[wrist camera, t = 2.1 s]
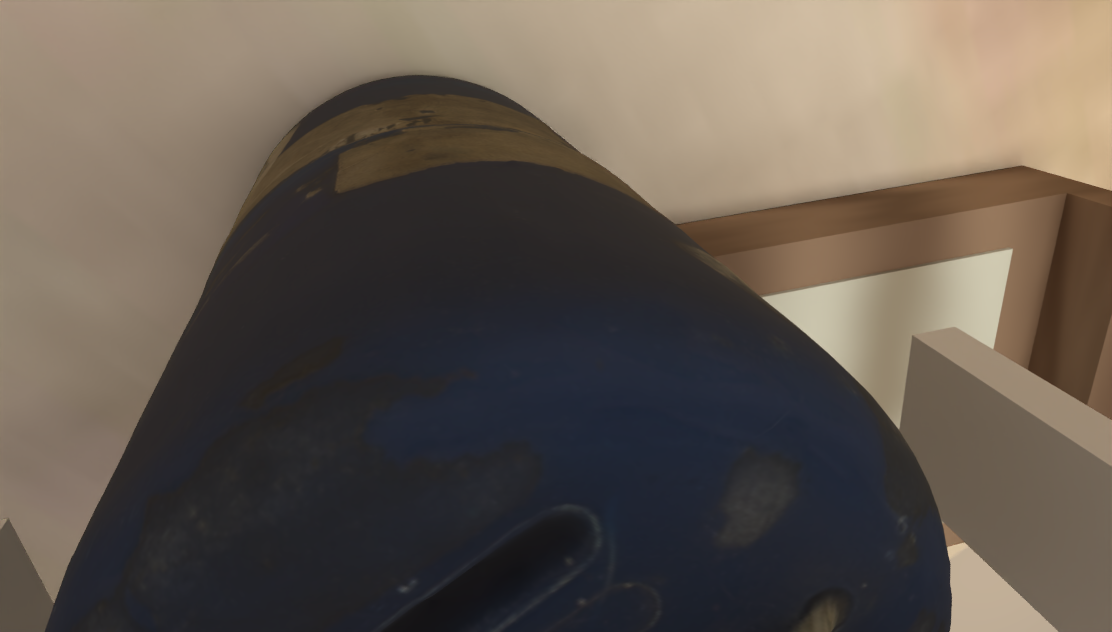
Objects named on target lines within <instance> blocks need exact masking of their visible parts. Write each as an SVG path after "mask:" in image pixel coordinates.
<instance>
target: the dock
mask: <svg viewBox="0 0 1112 632" xmlns="http://www.w3.org/2000/svg"><path fill="white" fill-rule="evenodd" d="M676 226H678V227H679V228H680V229H681V230H683V231H684V232H685V233H686V234H687V235H688V236H689V237H690V238H691V239H693V240H694V241H695V242H696V243H697V244H698V245H699V246H701V247H702V248H703V249H704V250H705V251H707V252H708V253H709V254H710V255H711V256H713V257H714V258H715V259H717V260H718V261H719V262H721V263H722V264H724V265H725V266H726V267H728V268H729V269H730V270H731V271H732V272H734V273H735V274H736V275H737V276H738V277H739V278H741V279H742V280H743V281H744V282H745V283H746V284H747V285H748V286H749V287H751V288H752V289H753V290H754V291H755V292H756V293H757V294H758V295H759V296H760V297H761V298H763V299H764V300H765V301H766V302H768V303H769V304H770V305H771V306H773V307H774V308H775V309H776V310H778V311H779V312H780V313H782V314H783V315H784V316H785V317H786V318H788V319H789V320H790V321H791V322H793V323H794V324H795V325H796V326H797V327H799V328H800V329H801V330H802V331H803V332H805V333H806V334H807V335H808V336H809V337H810V338H811V339H813V340H814V341H815V342H816V343H817V344H818V345H820V346H821V347H822V348H823V349H824V350H825V351H826V352H828V353H829V354H830V355H831V356H832V357H833V358H834V359H835V360H836V361H837V362H838V363H839V364H840V365H841V366H842V367H843V368H844V369H845V370H846V371H848V372H849V373H850V374H851V375H852V376H853V377H854V378H855V379H856V380H857V381H858V382H859V383H860V384H861V385H862V386H863V387H864V388H865V389H866V390H867V391H868V392H869V393H870V394H871V395H872V396H873V398H874V399H875V400H876V401H877V403H878V404H879V405H880V406H881V408H882V409H883V410H884V411H885V413H886V414H887V415H888V417H889V418H890V419H891V420H892V422H893V423H894V424H895V425H896V427H897V428H898V429H899V428H900V421H901V413H902V406H903V399H904V392H905V385H906V377H907V370H908V363H909V356H910V348H911V341H912V335H915V334H920V333H925V332H930V331H935V330H940V329H945V328H950V327H956V328H958V329H960V330H961V331H963V332H965V333H966V334H968V335H970V336H972V337H973V338H975V339H977V340H978V341H980V342H982V343H983V344H985V345H987V346H988V347H990V348H992V349H993V350H995V351H997V352H998V353H1000V354H1002V355H1003V356H1005V357H1007V358H1008V359H1010V360H1012V361H1013V362H1015V363H1017V364H1018V365H1020V366H1022V367H1023V368H1025V369H1027V370H1028V371H1030V372H1032V373H1033V374H1035V375H1037V376H1038V377H1040V378H1042V379H1043V380H1045V381H1047V382H1049V383H1050V384H1052V385H1054V386H1055V387H1057V388H1059V389H1060V390H1062V391H1064V392H1065V393H1067V394H1069V395H1070V396H1072V397H1074V398H1075V399H1077V400H1079V401H1080V402H1082V403H1084V404H1085V405H1087V406H1089V407H1090V408H1092V409H1094V410H1095V411H1097V412H1099V413H1100V414H1102V415H1104V416H1105V417H1107V418H1109V419H1110V420H1112V191H1110V190H1106V189H1103V188H1099V187H1096V186H1092V185H1089V184H1085V183H1082V182H1078V181H1075V180H1071V179H1068V178H1064V177H1061V176H1057V175H1054V174H1050V173H1047V172H1043V171H1040V170H1036V169H1033V168H1029V167H1026V166H1019V167H1013V168H1007V169H1001V170H995V171H990V172H984V173H978V174H972V175H966V176H960V177H954V178H949V179H943V180H937V181H931V182H925V183H919V184H913V185H907V186H902V187H896V188H890V189H884V190H878V191H872V192H866V193H861V194H855V195H849V196H843V197H837V198H831V199H825V200H819V201H814V202H808V203H802V204H796V205H790V206H784V207H778V208H772V209H767V210H761V211H755V212H749V213H743V214H737V215H731V216H726V217H720V218H714V219H708V220H702V221H696V222H690V223H684V224H679V225H676ZM941 521H942V520H941ZM942 525H943V528H944V534H945V540H946V545H947V547H948V546H952V545H956V544H959V543H963V542H964V541H963V540H962V539H961V538H960V537H959V536H957V535H956V534H955V533H954V532H953V531H952V530H951V529H950V528H949V527H948V526H947V525H946V524H945V523H944V522H943V521H942Z"/></svg>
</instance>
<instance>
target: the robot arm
mask: <svg viewBox="0 0 1112 632" xmlns="http://www.w3.org/2000/svg"><path fill="white" fill-rule="evenodd" d="M899 431H900V432H901V434H902V435H903V437H904V439H905V440H906V442H907V444H908V445H909V447H910V448H911V450H912V452H913V453H914V455H915V457H916V459H917V461H918V463H919V465H920V467H921V469H922V471H923V473H924V475H925V477H926V479H927V481H928V483H929V485H930V488H931V491H932V494H933V496H934V499H935V502H936V504H937V507H938V510H939V514H940V517H941V520H942V521H943V522H944V523H945V524H946V525H947V526H948V527H949V528H950V529H951V530H952V531H953V532H954V533H955V534H956V535H957V536H959V537H960V538H961V539H962V540H963V541H964V542H965V543H966V544H967V545H968V546H969V547H970V548H971V549H972V550H973V551H974V552H975V553H977V554H978V555H979V556H980V557H981V558H982V559H983V560H984V561H985V562H986V563H987V564H988V565H989V566H990V567H991V568H992V569H993V570H995V572H996V573H998V574H999V575H1000V576H1001V577H1002V578H1003V579H1004V580H1005V581H1006V582H1007V583H1008V584H1009V585H1010V586H1011V587H1012V588H1013V589H1015V590H1016V591H1017V592H1018V593H1019V594H1020V595H1021V596H1022V597H1023V598H1024V599H1025V600H1026V601H1027V602H1028V603H1029V604H1030V605H1031V606H1032V607H1033V608H1034V609H1036V610H1037V611H1038V612H1039V613H1040V614H1041V615H1042V616H1043V617H1044V618H1045V619H1046V620H1047V621H1048V622H1049V623H1050V624H1051V625H1052V626H1053V627H1055V628H1056V629H1057V630H1058V631H1059V632H1112V420H1110V419H1109V418H1107V417H1105V416H1104V415H1102V414H1100V413H1099V412H1097V411H1095V410H1094V409H1092V408H1090V407H1089V406H1087V405H1085V404H1084V403H1082V402H1080V401H1079V400H1077V399H1075V398H1074V397H1072V396H1070V395H1069V394H1067V393H1065V392H1064V391H1062V390H1060V389H1059V388H1057V387H1055V386H1054V385H1052V384H1050V383H1049V382H1047V381H1045V380H1043V379H1042V378H1040V377H1038V376H1037V375H1035V374H1033V373H1032V372H1030V371H1028V370H1027V369H1025V368H1023V367H1022V366H1020V365H1018V364H1017V363H1015V362H1013V361H1012V360H1010V359H1008V358H1007V357H1005V356H1003V355H1002V354H1000V353H998V352H997V351H995V350H993V349H992V348H990V347H988V346H987V345H985V344H983V343H982V342H980V341H978V340H977V339H975V338H973V337H972V336H970V335H968V334H966V333H965V332H963V331H961V330H960V329H958V328H956V327H950V328H945V329H940V330H935V331H930V332H925V333H920V334H915V335H912V341H911V348H910V356H909V363H908V370H907V377H906V385H905V392H904V399H903V406H902V413H901V421H900V428H899ZM53 606H54V604H53V602H52V600H51V598H50V596H49V594H48V593H47V591H46V589H45V587H44V585H43V583H42V581H41V579H40V577H39V575H38V574H37V572H36V570H35V568H34V566H33V564H32V562H31V560H30V558H29V556H28V555H27V553H26V551H25V549H24V547H23V545H22V543H21V541H20V539H19V537H18V536H17V534H16V532H15V530H14V528H13V526H12V524H11V522H10V520H9V518H6V519H2V520H0V632H45V629H46V626H47V623H48V621H49V618H50V615H51V612H52V609H53Z"/></svg>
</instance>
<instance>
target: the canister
mask: <svg viewBox="0 0 1112 632" xmlns="http://www.w3.org/2000/svg"><path fill="white" fill-rule="evenodd" d="M951 606H952V594H951V587H950V561H949V557H948V551H947V545H946V540H945V534H944V528H943V525H942V521H941V517H940V514H939V510H938V507H937V504H936V502H935V499H934V496H933V494H932V491H931V488H930V485H929V483H928V481H927V479H926V477H925V475H924V473H923V471H922V469H921V467H920V465H919V463H918V461H917V459H916V457H915V455H914V453H913V452H912V450H911V448H910V447H909V445H908V444H907V442H906V440H905V439H904V437H903V435H902V434H901V432H900V431H899V429H898V428H897V427H896V425H895V424H894V423H893V422H892V420H891V419H890V418H889V417H888V415H887V414H886V413H885V411H884V410H883V409H882V408H881V406H880V405H879V404H878V403H877V401H876V400H875V399H874V398H873V396H872V395H871V394H870V393H869V392H868V391H867V390H866V389H865V388H864V387H863V386H862V385H861V384H860V383H859V382H858V381H857V380H856V379H855V378H854V377H853V376H852V375H851V374H850V373H849V372H848V371H846V370H845V369H844V368H843V367H842V366H841V365H840V364H839V363H838V362H837V361H836V360H835V359H834V358H833V357H832V356H831V355H830V354H829V353H828V352H826V351H825V350H824V349H823V348H822V347H821V346H820V345H818V344H817V343H816V342H815V341H814V340H813V339H811V338H810V337H809V336H808V335H807V334H806V333H805V332H803V331H802V330H801V329H800V328H799V327H797V326H796V325H795V324H794V323H793V322H791V321H790V320H789V319H788V318H786V317H785V316H784V315H783V314H782V313H780V312H779V311H778V310H776V309H775V308H774V307H773V306H771V305H770V304H769V303H768V302H766V301H765V300H764V299H763V298H761V297H760V296H759V295H758V294H757V293H756V292H755V291H754V290H753V289H752V288H751V287H749V286H748V285H747V284H746V283H745V282H744V281H743V280H742V279H741V278H739V277H738V276H737V275H736V274H735V273H734V272H732V271H731V270H730V269H729V268H728V267H726V266H725V265H724V264H722V263H721V262H719V261H718V260H717V259H715V258H714V257H713V256H711V255H710V254H709V253H708V252H707V251H705V250H704V249H703V248H702V247H701V246H699V245H698V244H697V243H696V242H695V241H694V240H693V239H691V238H690V237H689V236H688V235H687V234H686V233H685V232H684V231H683V230H681V229H680V228H679V227H678V226H676V225H675V224H674V223H673V222H671V221H670V220H669V219H668V218H666V217H665V216H663V215H662V214H661V213H660V212H658V211H657V210H656V209H655V208H653V207H652V206H651V205H650V204H649V203H647V202H646V201H645V200H644V199H643V198H642V197H640V196H639V195H638V194H637V193H636V192H635V191H634V190H632V189H631V188H630V187H629V186H628V185H627V184H626V183H624V182H623V181H622V180H620V179H619V178H618V177H617V176H615V175H614V174H613V173H611V172H610V171H608V170H607V169H606V168H604V167H603V166H601V165H599V164H598V163H596V162H595V161H593V160H592V159H590V158H588V157H587V156H585V155H583V154H581V153H580V152H579V151H578V150H577V149H576V148H574V147H573V146H572V145H571V144H569V143H568V142H567V141H566V140H564V139H563V138H562V137H561V136H559V135H558V134H557V133H555V132H554V131H553V130H552V129H551V128H550V127H549V126H548V125H546V124H545V123H543V122H542V121H541V120H540V119H538V118H537V117H536V116H534V115H533V114H532V113H530V112H529V111H528V110H526V109H525V108H523V107H522V106H521V105H519V104H517V103H516V102H514V101H512V100H511V99H509V98H507V97H506V96H504V95H502V94H499V93H497V92H495V91H493V90H491V89H488V88H485V87H483V86H480V85H477V84H473V83H470V82H467V81H462V80H458V79H454V78H446V77H439V76H424V75H414V76H400V77H393V78H387V79H381V80H377V81H373V82H370V83H367V84H363V85H360V86H358V87H355V88H353V89H350V90H348V91H345V92H343V93H341V94H340V95H338V96H336V97H334V98H332V99H330V100H329V101H327V102H325V103H324V104H322V105H321V106H319V107H318V108H316V109H315V110H313V111H312V112H310V113H309V114H308V115H307V116H306V117H304V118H303V119H302V120H301V121H300V122H299V123H298V124H297V125H295V126H294V127H293V128H292V129H291V131H290V132H289V133H288V134H287V135H286V136H285V137H284V138H283V139H282V141H281V142H280V143H279V144H278V145H277V147H276V148H275V149H274V150H273V152H272V153H271V155H270V157H269V158H268V160H267V161H266V163H265V165H264V166H263V168H262V170H261V172H260V174H259V176H258V178H257V180H256V182H255V184H254V186H253V188H252V190H251V192H250V194H249V195H248V197H247V199H246V201H245V203H244V204H243V206H242V208H241V210H240V212H239V214H238V217H237V219H236V221H235V224H234V226H233V228H232V230H231V232H230V234H229V236H228V237H227V239H226V241H225V242H224V244H223V246H222V248H221V250H220V252H219V255H218V257H217V259H216V261H215V264H214V267H213V269H212V271H211V273H210V275H209V278H208V280H207V283H206V285H205V288H204V291H203V294H202V296H201V298H200V300H199V302H198V304H197V307H196V309H195V311H194V313H193V315H192V317H191V319H190V321H189V323H188V324H187V326H186V328H185V330H184V332H183V334H182V336H181V338H180V340H179V342H178V344H177V346H176V348H175V350H174V352H173V354H172V356H171V358H170V360H169V362H168V364H167V366H166V368H165V370H164V372H163V374H162V376H161V378H160V380H159V382H158V384H157V386H156V388H155V390H154V392H153V394H152V396H151V398H150V400H149V402H148V404H147V406H146V408H145V410H144V412H143V414H142V416H141V418H140V420H139V422H138V424H137V426H136V428H135V430H134V432H133V435H132V437H131V439H130V441H129V443H128V445H127V447H126V449H125V452H124V454H123V456H122V458H121V460H120V462H119V464H118V466H117V468H116V470H115V472H114V474H113V476H112V478H111V480H110V482H109V484H108V486H107V488H106V490H105V492H104V494H103V496H102V497H101V499H100V501H99V503H98V505H97V507H96V509H95V511H94V513H93V515H92V517H91V519H90V521H89V524H88V526H87V528H86V530H85V532H84V534H83V536H82V538H81V540H80V542H79V544H78V546H77V548H76V551H75V553H74V554H73V556H72V558H71V560H70V563H69V565H68V567H67V570H66V573H65V576H64V578H63V581H62V584H61V587H60V589H59V592H58V595H57V598H56V601H55V604H54V606H53V609H52V612H51V615H50V618H49V621H48V623H47V626H46V629H45V632H949V631H950V625H951Z"/></svg>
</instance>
